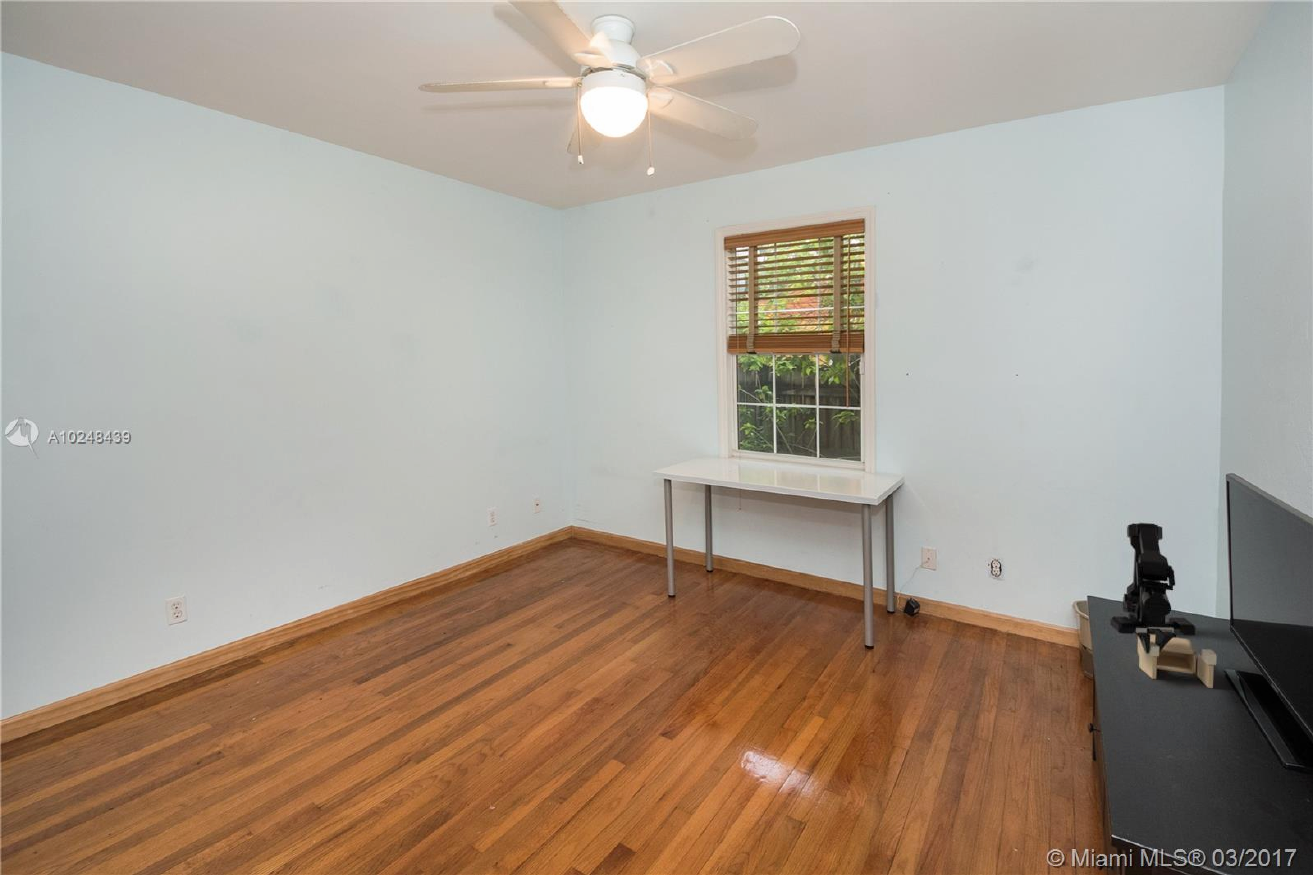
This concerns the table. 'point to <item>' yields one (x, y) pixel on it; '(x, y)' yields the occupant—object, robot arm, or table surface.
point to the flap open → (1206, 666)
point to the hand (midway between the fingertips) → (1151, 653)
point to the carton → (1175, 655)
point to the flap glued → (1149, 660)
